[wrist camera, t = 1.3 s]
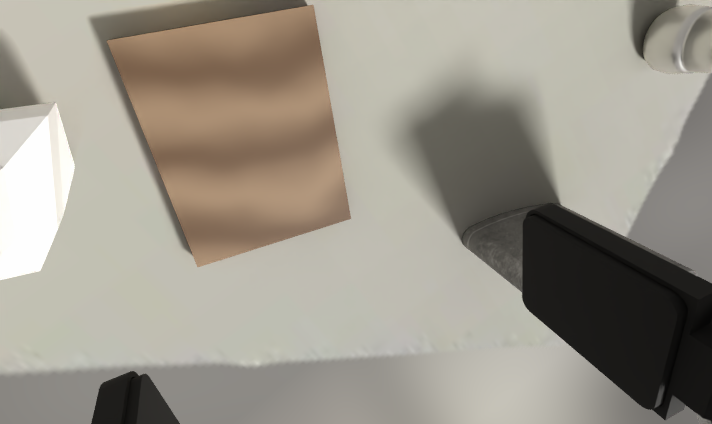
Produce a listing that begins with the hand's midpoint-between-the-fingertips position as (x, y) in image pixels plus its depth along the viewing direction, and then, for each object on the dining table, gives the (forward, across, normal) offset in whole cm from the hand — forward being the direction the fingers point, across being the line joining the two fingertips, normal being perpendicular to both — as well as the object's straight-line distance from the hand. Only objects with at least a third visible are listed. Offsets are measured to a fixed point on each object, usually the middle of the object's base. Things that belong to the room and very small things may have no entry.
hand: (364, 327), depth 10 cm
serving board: (+27, 0, +3) cm, 27 cm away
